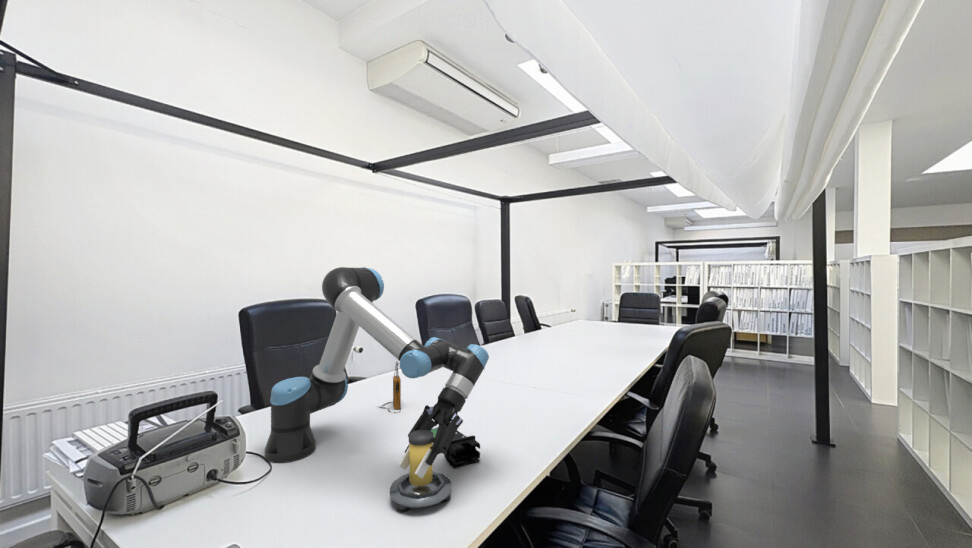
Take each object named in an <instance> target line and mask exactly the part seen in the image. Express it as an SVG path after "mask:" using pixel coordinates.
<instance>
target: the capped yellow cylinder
mask: <svg viewBox="0 0 972 548" xmlns="http://www.w3.org/2000/svg"><path fill="white" fill-rule="evenodd" d="M408 434H409V433H408ZM432 441H433V432H432V431H429V430H416V431H413V432H411V433H410V434H409V437H408V445H409V466H408V467H409V482H410V483H411V484H412V485H414V486H424V485H427V484H429V483H431V482H432V471H433V464H432V465H431V466H429V468H428V470H427V471H426V473H425V475H424V477H423V479H422V478H420V477H419V476H417V475H416V474H415V471H416V470H417V468H418V466H419V464H420V463H421V461H422V459H423V457H424V456H425V454H426V452H427V450H428V449H430V450H432V449H431V448H430V447H432V446H433V443H432Z"/></svg>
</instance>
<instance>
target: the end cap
mask: <svg viewBox="0 0 972 548" xmlns="http://www.w3.org/2000/svg"><path fill="white" fill-rule="evenodd" d="M477 448H478V449H481V443H480V442H478V441H477V440H476V435H469V436H466V437H464V438H460V439H455V440H452V442H451V444H450V446H449V448H448V450H447V452H446V453H445V454H443V455H444V456H443V457H444V459H445V460H446V462H447V464H449V466H451V467H452V468H453V470H455V469H460V468H463V467H467V466H470V465H474V464H478V463H479V462H480V458H481V452H480V451H479V450H478V449H477ZM452 468H451V469H452Z"/></svg>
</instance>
